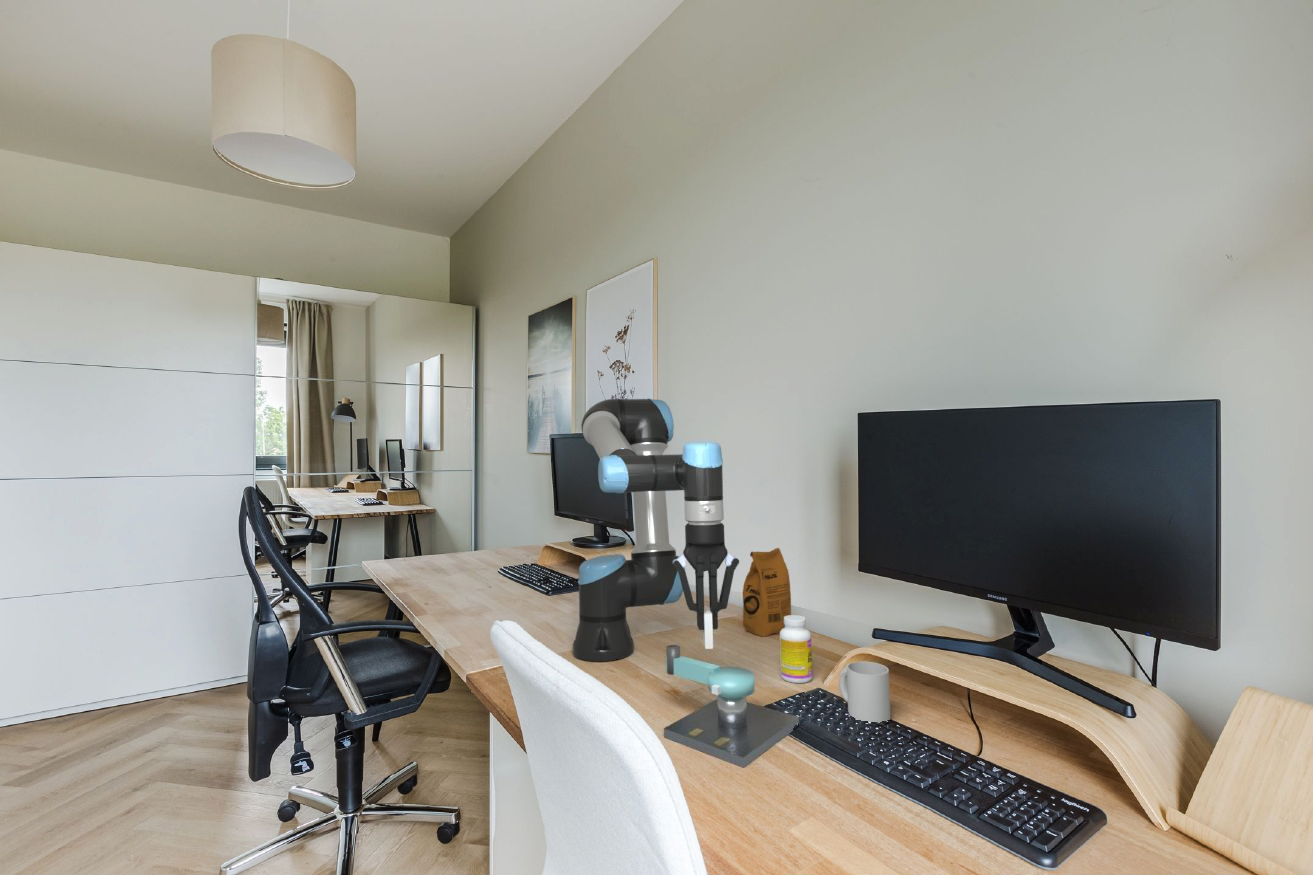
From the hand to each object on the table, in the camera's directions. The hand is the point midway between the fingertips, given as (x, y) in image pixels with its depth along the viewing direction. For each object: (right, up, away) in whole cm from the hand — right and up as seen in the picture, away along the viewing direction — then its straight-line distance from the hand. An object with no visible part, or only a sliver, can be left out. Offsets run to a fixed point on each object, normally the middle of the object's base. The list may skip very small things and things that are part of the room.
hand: (708, 646), depth 112 cm
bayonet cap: (-1, -4, -7) cm, 8 cm away
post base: (+3, -11, -10) cm, 15 cm away
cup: (+28, -11, -5) cm, 30 cm away
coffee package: (+21, -13, +49) cm, 55 cm away
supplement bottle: (+20, -12, +14) cm, 27 cm away
